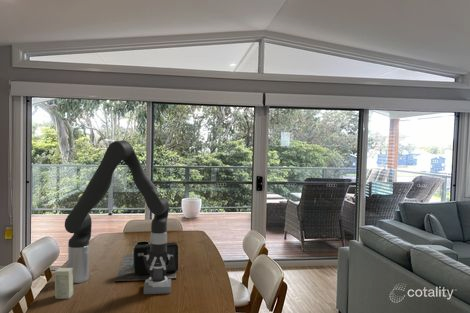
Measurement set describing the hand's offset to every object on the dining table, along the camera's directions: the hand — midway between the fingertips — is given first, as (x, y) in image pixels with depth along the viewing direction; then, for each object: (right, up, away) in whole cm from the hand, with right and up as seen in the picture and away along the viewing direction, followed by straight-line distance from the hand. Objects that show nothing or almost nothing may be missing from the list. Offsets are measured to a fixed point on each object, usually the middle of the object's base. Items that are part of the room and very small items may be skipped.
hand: (157, 276), depth 162 cm
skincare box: (-39, -5, -10) cm, 41 cm away
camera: (-5, -5, +19) cm, 20 cm away
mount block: (0, -6, 0) cm, 6 cm away
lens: (0, -2, 0) cm, 2 cm away
